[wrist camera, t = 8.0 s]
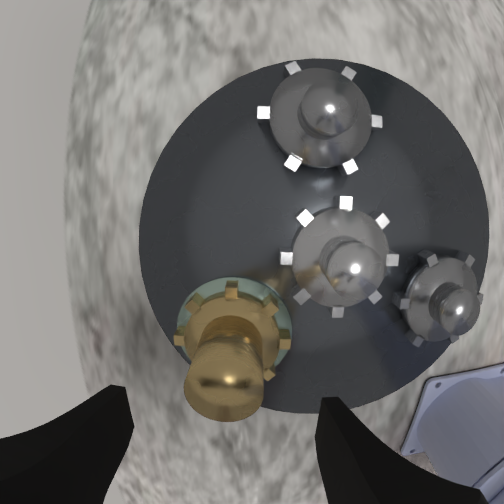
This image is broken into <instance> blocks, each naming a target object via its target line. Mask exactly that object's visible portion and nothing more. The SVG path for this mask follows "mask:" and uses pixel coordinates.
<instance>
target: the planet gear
mask: <svg viewBox="0 0 504 504" xmlns="http://www.w3.org/2000/svg"><path fill="white" fill-rule="evenodd" d="M185 308H186V309H187V310H188V311H189V312H190V313H191V314H192V315H191V317H190V319H189V321H188V323H187V325H186V326H178V328H177V330H176V332H175V334H174V345H177V346H185V349H186V352H187V354H188V356H189V358H190V360H191V361H192V363H191V365H190V368H189V371H188V374H187V376H186V379H185V382H184V393H185V397H186V399H187V401H188V403H189V404H190V406H191V407H192V408H193V409H194V410H195V411H197V412H198V413H199V414H201V415H203V416H204V417H206V418H209V419H212V420H215V421H221V422H234V421H239V420H242V419H245V418H247V417H249V416H251V415H252V414H253V413H255V412H256V411H257V410H258V408H259V407H260V405H261V403H262V401H263V396H264V384H263V378H264V379H265V380H267V381H269V380H270V379H271V378H273V377H274V376H275V375H276V373H275V364H274V361H275V360H276V358H277V356H278V352H279V349H290V346H291V337H290V332H289V329H278V323H277V320H276V318H275V315H274V314H275V313H276V312H277V311H278V310H279V306H278V301H277V300H276V299H275V298H274V297H273V296H272V295H271V294H269V295H268V296H267V297H266V298H265V299H264V300H260V299H259V298H257V297H255V296H253V295H251V294H248V293H245V292H241V291H239V281H231V280H227V282H226V286H225V291H222V292H218V293H215V294H213V295H210V296H208V297H207V298H205V299H203V298H202V297H201V296H200V295H199V294H198V293H197V292H196V293H195V294H194V295H193V296H192V297H191V298H189V300H188V302H187V303H186V305H185Z"/></svg>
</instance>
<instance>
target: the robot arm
mask: <svg viewBox="0 0 504 504" xmlns="http://www.w3.org/2000/svg"><path fill="white" fill-rule="evenodd" d="M437 383H438V384H437ZM436 384H437V385H436ZM133 429H134V423H133V419H132V415H131V411H130V406H129V402H128V398H127V393H126V389H125V387H122V386H116V385H109V386H108V387H106V388H104V389H103V390H101V391H100V392H98V393H97V394H95V395H94V396H92V397H91V398H89V399H87V400H86V401H84V402H83V403H81V404H80V405H78V406H77V407H75V408H73V409H72V410H70V411H68V412H66V413H65V414H63V415H61V416H59V417H57V418H56V419H54V420H52V421H50V422H48V423H46V424H44V425H41V426H39V427H37V428H34V429H32V430H29V431H26V432H23V433H20V434H16V435H13V436H10V437H6V438H1V439H0V504H103V502H104V498H105V495H106V493H107V491H108V488H109V486H110V484H111V482H112V480H113V478H114V476H115V473H116V471H117V469H118V467H119V465H120V463H121V461H122V459H123V457H124V455H125V452H126V450H127V448H128V446H129V442H130V439H131V436H132V433H133ZM315 442H316V452H317V460H318V464H319V468H320V472H321V476H322V480H323V484H324V488H325V492H326V496H327V499H328V503H329V504H504V364H500V365H495V366H491V367H487V368H482V369H478V370H473V371H468V372H463V373H458V374H453V375H447V376H441V377H435V378H431V379H429V380H428V381H427V382H426V384H425V386H424V390H423V393H422V396H421V399H420V402H419V405H418V408H417V410H416V413H415V416H414V419H413V421H412V424H411V427H410V429H409V432H408V434H407V437H406V439H405V442H404V444H403V447H402V449H401V454H402V455H403V456H407V455H412V454H416V453H421V452H425V453H426V454H427V456H428V458H429V460H430V462H431V464H432V465H433V467H434V469H435V471H436V473H437V475H438V476H437V475H434V474H432V473H430V472H428V471H426V470H424V469H422V468H420V467H418V466H416V465H415V464H413V463H411V462H410V461H408V460H406V459H405V458H403V457H402V456H400V455H399V454H398V453H396V452H395V451H393V450H392V449H391V448H389V447H388V446H387V445H386V444H384V443H383V442H382V441H381V440H380V439H379V438H377V437H376V436H375V435H374V434H373V433H372V432H371V431H370V430H369V429H368V428H367V427H366V426H365V425H364V424H363V423H362V422H361V421H360V420H359V419H358V418H357V417H356V416H355V415H354V413H353V412H352V411H351V410H350V409H349V408H348V407H347V406H346V404H345V403H344V402H343V401H342V400H341V399H340V398H339V397H322V399H321V405H320V411H319V417H318V423H317V428H316V434H315Z"/></svg>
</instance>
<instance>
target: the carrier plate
mask: <svg viewBox="0 0 504 504" xmlns="http://www.w3.org/2000/svg"><path fill="white" fill-rule="evenodd" d="M488 246H489V216H488V208H487V202H486V196H485V191H484V188H483V184H482V181H481V177H480V174H479V171H478V169H477V166H476V164H475V162H474V159H473V157H472V155H471V153H470V151H469V149H468V147H467V145H466V144H465V142H464V140H463V139H462V137H461V136H460V134H459V132H458V131H457V130H456V128H455V127H454V126H453V124H452V123H451V122H450V121H449V119H448V118H447V117H446V116H445V115H444V113H443V112H442V111H441V110H439V109H438V108H437V107H436V106H435V105H434V104H433V103H432V102H431V101H430V100H429V99H428V98H427V97H425V96H424V95H423V94H421V93H420V92H419V91H417V90H416V89H414V88H413V87H412V86H410V85H409V84H407V83H405V82H403V81H402V80H400V79H398V78H396V77H394V76H392V75H390V74H388V73H386V72H383V71H380V70H378V69H375V68H372V67H369V66H366V65H363V64H358V63H353V62H348V61H343V60H335V59H304V60H294V61H287V62H283V63H279V64H275V65H271V66H267V67H263V68H261V69H258V70H256V71H253V72H251V73H249V74H246V75H244V76H241V77H239V78H237V79H236V80H234V81H232V82H231V83H229V84H227V85H226V86H224V87H222V88H221V89H219V90H218V91H216V92H215V93H213V94H212V95H211V96H210V97H209V98H207V99H206V100H205V101H204V102H203V103H201V104H200V105H199V106H198V107H197V108H195V110H194V111H193V112H192V113H191V114H190V115H189V116H188V117H187V118H186V119H185V121H184V122H183V123H182V124H181V125H180V126H179V127H178V128H177V130H176V131H175V133H174V134H173V136H172V137H171V139H170V140H169V142H168V143H167V145H166V146H165V148H164V149H163V151H162V153H161V155H160V157H159V159H158V161H157V163H156V166H155V168H154V170H153V172H152V174H151V177H150V180H149V183H148V187H147V190H146V193H145V196H144V200H143V206H142V212H141V218H140V225H139V255H140V263H141V271H142V277H143V281H144V285H145V288H146V292H147V296H148V299H149V302H150V304H151V306H152V309H153V311H154V313H155V316H156V318H157V320H158V322H159V324H160V326H161V327H162V329H163V331H164V332H165V334H166V336H167V337H168V339H169V341H170V342H171V343H172V345H173V346H174V347H175V348H176V350H177V351H178V352H179V353H180V355H181V356H182V357H183V358H184V359H185V360H186V361H187V362H188V363H189V364H190V365H191V363H192V361H191V360H190V358H189V356H188V354H187V352H186V349H185V346H177V345H174V334H175V332H176V330H177V328H178V326H186V325H187V323H188V321H189V319H190V317H191V315H192V314H191V313H190V312H189V311H188V310H187V309H186V308H185V305H186V303H187V302H188V300H189V298H191V297H192V296H193V295H194V294H195V293H196V292H197V293H198V294H199V295H200V296H201V297H202V298H203V299H205V298H207V297H208V296H210V295H213V294H215V293H218V292H222V291H225V286H226V282H227V280H231V281H239V291H241V292H245V293H248V294H251V295H253V296H255V297H257V298H259V299H260V300H264V299H265V298H266V297H267V296H268V295H269V294H271V295H272V296H273V297H274V298H275V299H276V300H277V301H278V306H279V310H278V311H277V312H276V313H275V314H274V315H275V318H276V320H277V323H278V329H289V332H290V337H291V346H290V349H279V352H278V356H277V358H276V360H275V361H274V364H275V373H276V375H275V376H274V377H273V378H271V379H270V380H269V381H267V380H265V379H264V378H263V384H264V396H263V401H262V403H261V405H260V406H261V407H265V408H268V409H272V410H276V411H283V412H291V413H319V411H320V405H321V399H322V397H339V398H340V399H341V400H342V401H343V402H344V403H345V404H346V406H347V407H348V408H349V409H351V408H355V407H359V406H362V405H365V404H368V403H370V402H373V401H376V400H379V399H381V398H383V397H385V396H387V395H389V394H391V393H393V392H395V391H397V390H398V389H400V388H402V387H403V386H405V385H406V384H408V383H409V382H411V381H412V380H414V379H415V378H416V377H418V376H419V375H420V374H421V373H423V372H424V371H425V370H426V369H427V368H429V367H430V366H431V365H432V364H433V363H434V362H435V361H436V360H437V359H438V358H439V357H440V356H441V355H442V354H443V352H444V351H445V350H446V349H447V348H448V346H449V345H450V344H451V343H454V342H455V341H456V340H458V339H459V335H463V334H465V333H466V332H468V331H469V330H470V329H471V328H472V327H473V326H474V324H475V323H476V321H477V319H478V316H479V312H480V304H482V300H483V294H481V293H479V290H480V287H481V284H482V281H483V277H484V273H485V268H486V263H487V257H488Z"/></svg>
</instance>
